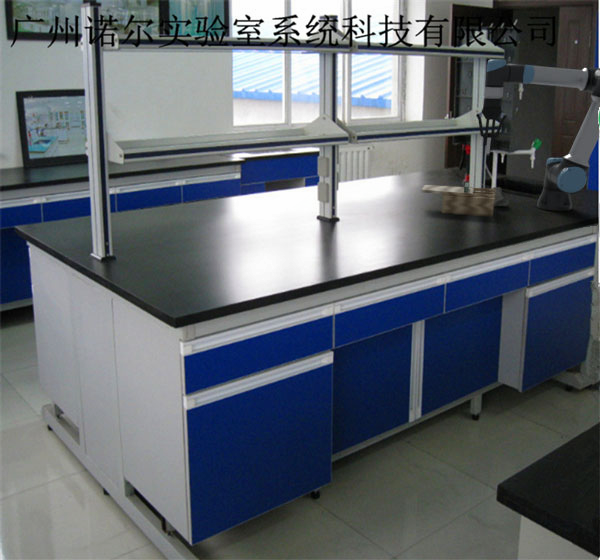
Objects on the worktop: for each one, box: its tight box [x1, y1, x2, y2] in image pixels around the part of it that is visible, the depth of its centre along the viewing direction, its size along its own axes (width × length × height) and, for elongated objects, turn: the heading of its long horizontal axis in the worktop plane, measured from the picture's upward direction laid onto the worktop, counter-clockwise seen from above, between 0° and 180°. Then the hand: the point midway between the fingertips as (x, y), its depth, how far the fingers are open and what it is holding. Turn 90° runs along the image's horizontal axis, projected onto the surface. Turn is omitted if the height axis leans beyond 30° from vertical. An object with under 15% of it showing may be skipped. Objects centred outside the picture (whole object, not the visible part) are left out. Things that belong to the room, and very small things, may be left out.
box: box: [441, 185, 495, 218], centre depth 319 cm, size 22×14×10 cm, turn 74°
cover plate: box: [421, 182, 475, 195], centre depth 320 cm, size 22×12×4 cm, turn 74°
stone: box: [490, 186, 510, 207], centre depth 331 cm, size 10×10×10 cm
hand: (487, 153), depth 311 cm, fingers closed
